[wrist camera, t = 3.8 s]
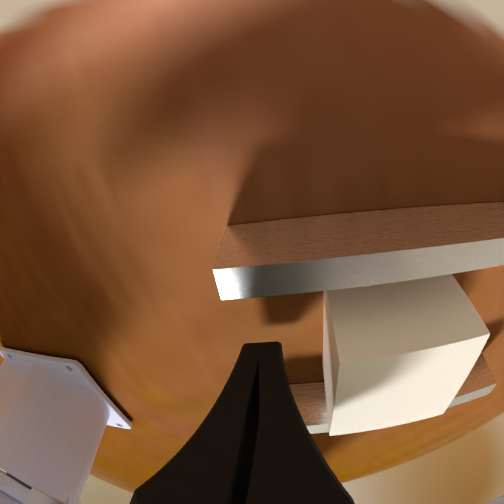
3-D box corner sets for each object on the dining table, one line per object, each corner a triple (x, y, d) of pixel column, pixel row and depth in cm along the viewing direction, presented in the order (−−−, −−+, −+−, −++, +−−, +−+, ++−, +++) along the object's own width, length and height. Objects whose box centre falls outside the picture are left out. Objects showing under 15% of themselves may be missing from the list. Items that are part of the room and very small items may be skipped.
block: (322, 360, 13) (329, 435, 10) (323, 275, 11) (339, 362, 7) (419, 346, 13) (443, 413, 9) (443, 262, 10) (490, 333, 7)
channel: (266, 395, 15) (264, 436, 13) (226, 225, 10) (213, 269, 8) (474, 360, 13) (489, 393, 11) (530, 200, 8) (567, 229, 6)
